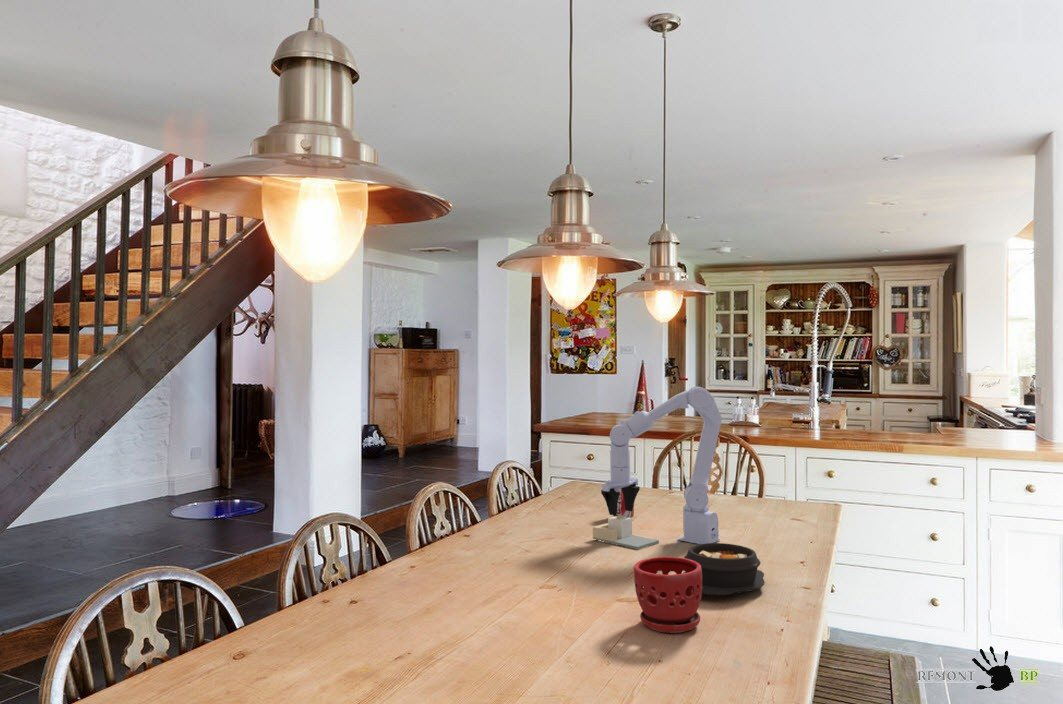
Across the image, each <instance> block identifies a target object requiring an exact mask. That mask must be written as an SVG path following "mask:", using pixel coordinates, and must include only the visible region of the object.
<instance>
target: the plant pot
mask: <svg viewBox="0 0 1063 704" xmlns="http://www.w3.org/2000/svg"><path fill="white" fill-rule="evenodd" d="M659 571H660V572H662V573H661V574H660V573H658V572H659ZM670 572H674V573H675V574H669V573H670ZM684 572H686V573H684ZM633 580H634V589H635V595H636V598H637V602H638V603H639V606H640V608H641V612H640V614H639V615H640V616H639V617H640V620H641V622H642V624H643V625H645V626H646V627H647V628H648V629H651V630H653V631H656V632H661V633H669V634H672V633H674V634H679V633H684V632H689V631H692V630H693V629H695V628H696V627H697V626H698V625H699V623H700V621H701V615H700V613H699V612H698V609H699V606H700V604H701V600H702V595H703V594H702V569H701V565H700V564H699V563H697V562H696V561H693V560H690V559H686V558H684V557H679V556H655V557H650V558H645V559H641V560H639V561H637V562H636V563H635V564H634V565H633ZM692 589H693V590H692Z"/></svg>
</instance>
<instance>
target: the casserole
mask: <svg viewBox="0 0 1063 704" xmlns="http://www.w3.org/2000/svg"><path fill="white" fill-rule="evenodd" d="M683 558H686V559H690V560H693V561H696V562H697V563H699V564H700V565H701V569H702V594H701V595H705V596H706V595H707V596H716V597H717V596H718V597H722V596H724V597H725V596H728V595H737V594H742V593H746V592H751V591H755V590H757V589H760V588H762V587H763V586H764V585H765V580H764V577H765V573H764V571H762V570H760V569H758V568H759V566H760V565H761V560H760V559H759V558H758V556H757V553H756V551H755V550H753V549H752V548H749V547H747V546H743V545H739V544H738V545H737V544H732V543H721V542H720V543H719V542H714V543H706V544H695V545H692V546H690V547H689V548H688V550H687V553H686V554H685V555H684V557H683ZM683 573H686V572H685V571H683ZM692 590H693V589H692Z"/></svg>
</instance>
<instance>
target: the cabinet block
mask: <svg viewBox="0 0 1063 704" xmlns="http://www.w3.org/2000/svg"><path fill="white" fill-rule="evenodd" d="M607 523H608V528H609V529H614V530H617V537H618V538H625V537H628V536H632V535H633V517H632V518H628V517H623V516H616V517H614V516H613V517H608V518H607Z"/></svg>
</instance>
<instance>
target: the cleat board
mask: <svg viewBox="0 0 1063 704" xmlns="http://www.w3.org/2000/svg"><path fill="white" fill-rule="evenodd" d="M593 539H596V540H601V541H604V542H608V543H607V544H609V543H613V544H612V545H614V544H617V545H616V546H618V545H622V546H621V547H623V546H625V547H624V548H628V547H630V548H629V549H632V548H634V549H633V550H637V549H638V550H641V548H642V549H644V548H643V547H645V548H647V547H646V546H648V547H651V546H654V545H657V544H656V543H658V544H659V543H660V540H659V539H655V538H650V537H644V536H640V535H639V536H638V535H635V534H634V535H633V534H632V536H628V537H625V538H618V537H617V530H614V529H609V528H608V522H607V523H603V524H598V525H595V526H593V527H592V540H593ZM604 542H603V543H604ZM653 544H654V545H653ZM650 545H651V546H650Z"/></svg>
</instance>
